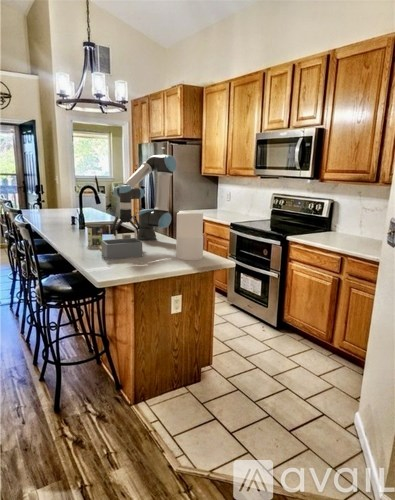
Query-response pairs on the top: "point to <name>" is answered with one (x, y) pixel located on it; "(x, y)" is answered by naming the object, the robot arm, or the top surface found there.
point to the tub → (121, 248)
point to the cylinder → (189, 235)
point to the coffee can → (94, 235)
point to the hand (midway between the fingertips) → (126, 239)
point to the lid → (124, 236)
